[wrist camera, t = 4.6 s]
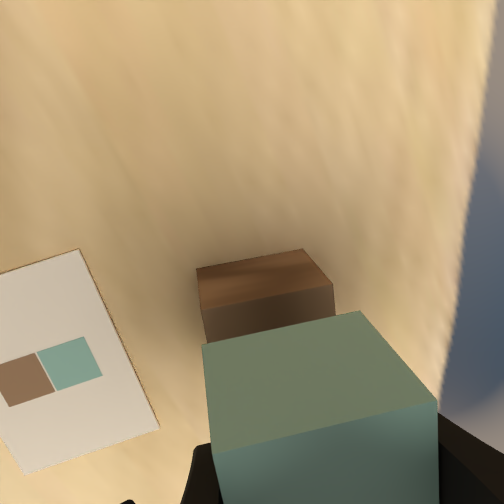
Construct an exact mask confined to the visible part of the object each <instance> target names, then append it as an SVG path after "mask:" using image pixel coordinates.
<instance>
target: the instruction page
mask: <svg viewBox="0 0 504 504" xmlns="http://www.w3.org/2000/svg"><path fill="white" fill-rule="evenodd" d="M157 429H160V425H159V423H158V421H157V419H156V417H155V414H154V412H153V410H152V408H151V406H150V403H149V401H148V399H147V397H146V395H145V392H144V390H143V388H142V386H141V384H140V381H139V379H138V377H137V375H136V373H135V370H134V368H133V366H132V364H131V362H130V359H129V357H128V355H127V353H126V351H125V348H124V346H123V344H122V342H121V340H120V337H119V335H118V333H117V331H116V329H115V326H114V324H113V322H112V320H111V318H110V316H109V313H108V311H107V309H106V307H105V305H104V302H103V300H102V298H101V296H100V294H99V291H98V289H97V287H96V285H95V283H94V280H93V278H92V276H91V274H90V272H89V269H88V267H87V265H86V263H85V261H84V258H83V256H82V254H81V252H80V250H79V249H76V250H73V251H70V252H67V253H64V254H61V255H58V256H55V257H52V258H49V259H45V260H42V261H39V262H36V263H33V264H30V265H27V266H24V267H21V268H18V269H15V270H11V271H8V272H5V273H2V274H0V437H1V438H2V440H3V442H4V443H5V445H6V447H7V448H8V450H9V451H10V453H11V455H12V456H13V458H14V459H15V461H16V463H17V464H18V466H19V468H20V469H21V471H22V472H23V474H24V476H25V475H28V474H30V473H33V472H36V471H39V470H42V469H45V468H48V467H51V466H53V465H56V464H59V463H62V462H65V461H68V460H71V459H74V458H77V457H79V456H82V455H85V454H88V453H91V452H94V451H97V450H100V449H103V448H105V447H108V446H111V445H114V444H117V443H120V442H123V441H126V440H128V439H131V438H134V437H137V436H140V435H143V434H146V433H149V432H152V431H154V430H157Z"/></svg>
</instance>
